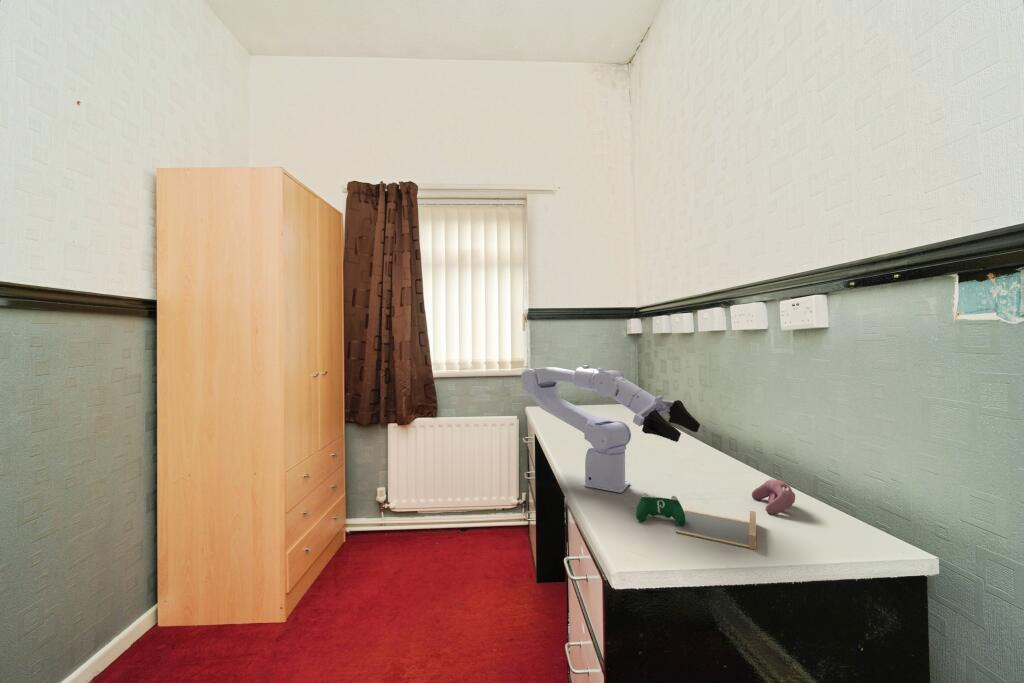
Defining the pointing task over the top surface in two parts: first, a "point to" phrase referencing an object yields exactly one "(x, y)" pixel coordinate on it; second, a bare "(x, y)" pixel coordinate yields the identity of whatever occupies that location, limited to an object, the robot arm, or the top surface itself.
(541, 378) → the robot arm
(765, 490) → the video game controller
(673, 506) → the gaming controller
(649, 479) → the top surface
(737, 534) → the tray
